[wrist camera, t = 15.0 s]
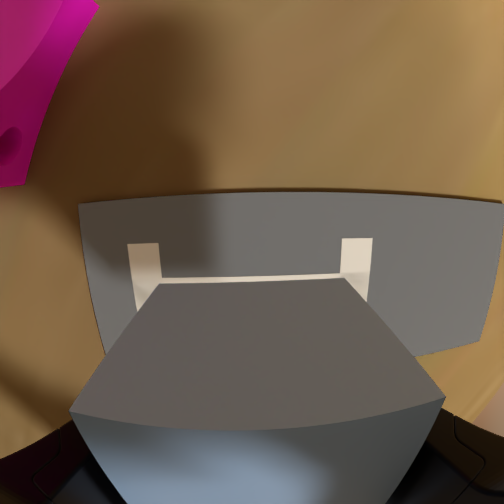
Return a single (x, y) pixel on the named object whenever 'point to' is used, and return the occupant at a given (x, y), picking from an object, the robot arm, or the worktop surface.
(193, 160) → the worktop surface
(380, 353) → the slate blue cube
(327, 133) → the worktop surface
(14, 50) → the toy block
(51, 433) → the robot arm
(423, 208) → the letter mat
